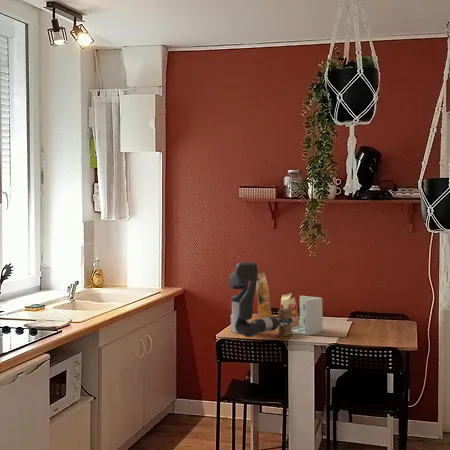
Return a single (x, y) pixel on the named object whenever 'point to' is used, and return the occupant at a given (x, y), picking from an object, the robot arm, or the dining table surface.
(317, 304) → the cabinet frame
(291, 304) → the red cream food bag
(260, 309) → the pancake mix bag
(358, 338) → the dining table surface
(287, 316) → the brown wooden block
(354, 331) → the dining table surface
